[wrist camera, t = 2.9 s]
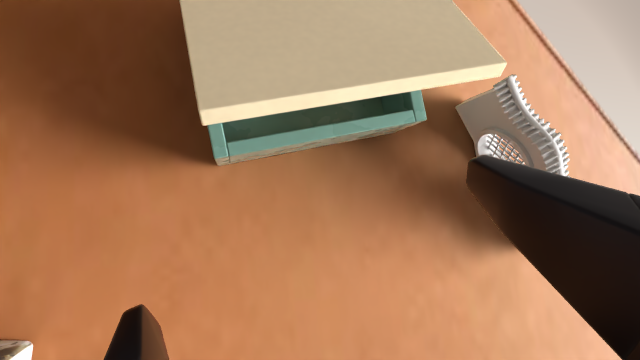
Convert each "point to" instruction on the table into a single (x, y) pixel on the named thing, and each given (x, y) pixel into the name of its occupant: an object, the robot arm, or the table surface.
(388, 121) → the teal open boxy piece
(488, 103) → the lattice window wall
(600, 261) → the robot arm
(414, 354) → the table surface
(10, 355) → the coffee box
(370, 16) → the lid
